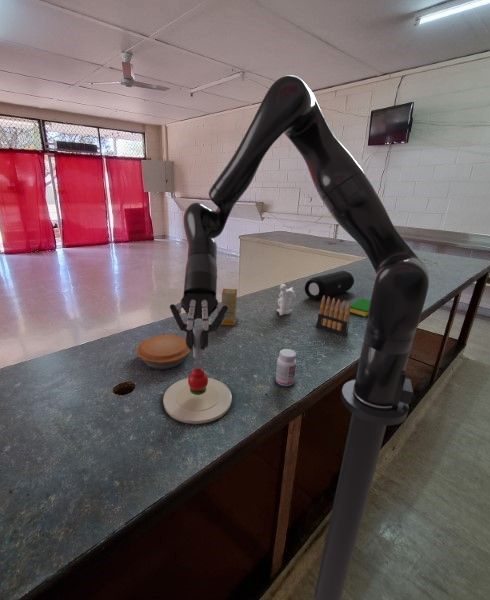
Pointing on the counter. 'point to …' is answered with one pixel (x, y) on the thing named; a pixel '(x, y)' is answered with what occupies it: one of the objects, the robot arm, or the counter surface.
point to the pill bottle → (286, 367)
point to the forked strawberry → (197, 366)
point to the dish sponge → (360, 307)
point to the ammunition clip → (334, 316)
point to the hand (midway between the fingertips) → (196, 348)
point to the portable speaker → (329, 284)
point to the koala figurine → (285, 299)
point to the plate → (197, 402)
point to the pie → (163, 351)
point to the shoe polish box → (229, 306)
